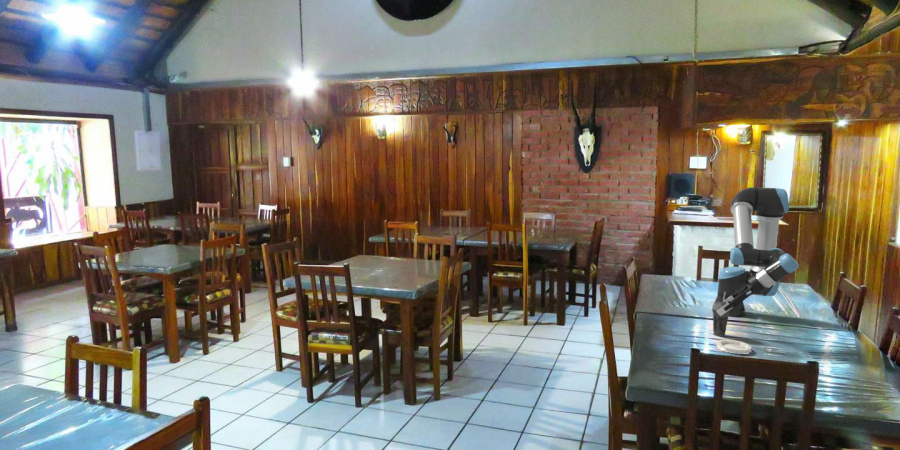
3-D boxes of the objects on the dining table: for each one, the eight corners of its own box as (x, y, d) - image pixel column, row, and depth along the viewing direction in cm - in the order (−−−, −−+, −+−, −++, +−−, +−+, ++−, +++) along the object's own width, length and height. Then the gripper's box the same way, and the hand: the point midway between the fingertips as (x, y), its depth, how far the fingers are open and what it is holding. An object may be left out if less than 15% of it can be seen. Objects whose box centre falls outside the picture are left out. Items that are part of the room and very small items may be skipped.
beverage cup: (706, 332, 253) (710, 289, 250) (722, 332, 253) (725, 289, 251) (715, 337, 246) (719, 294, 243) (731, 337, 246) (735, 293, 243)
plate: (744, 344, 237) (744, 340, 237) (756, 356, 225) (757, 351, 224) (712, 343, 239) (712, 338, 239) (722, 354, 226) (723, 349, 226)
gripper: (766, 294, 226) (723, 323, 236) (768, 282, 247) (728, 309, 257) (753, 280, 228) (710, 309, 238) (756, 269, 249) (717, 296, 259)
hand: (719, 309), depth 247 cm, fingers open, 13 cm apart
